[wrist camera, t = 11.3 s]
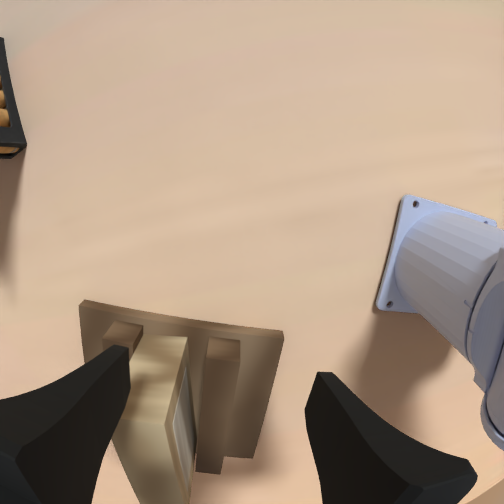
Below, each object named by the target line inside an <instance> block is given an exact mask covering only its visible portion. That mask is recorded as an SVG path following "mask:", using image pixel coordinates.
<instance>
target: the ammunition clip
mask: <svg viewBox="0 0 504 504" xmlns="http://www.w3.org/2000/svg"><path fill="white" fill-rule="evenodd" d="M26 145H27V142H26V139H25V135H24V132H23V128H22V125H21V121H20V117H19V114H18V110H17V106H16V102H15V97H14V93H13V88H12V84H11V79H10V74H9V69H8V63H7V57H6V51H5V45H4V38H1V37H0V159H11V158H12V157H14V156H15V155H16V154H17V153H19V152H20V151H21V150H22V149H24V148H25V147H26Z"/></svg>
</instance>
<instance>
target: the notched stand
mask: <svg viewBox="0 0 504 504" xmlns="http://www.w3.org/2000/svg"><path fill="white" fill-rule="evenodd" d="M79 316H80V327H81V337H82V346H83V354H84V362H85V364H86V363H87V362H89V361H90V360H92V359H93V358H95V357H96V356H98V355H99V354H100V353H102V352H103V351H105V350H106V349H108V348H109V347H111V346H112V345H114V344H115V345H119V346H124V347H129V362H130V360H131V358H132V356H133V354H134V352H135V350H136V348H137V346H138V344H139V342H140V340H141V338H142V336H143V334H146V335H161V336H178V337H188V350H189V363H190V374H191V385H192V395H193V405H194V414H195V422H196V431H197V444H196V452H195V453H197V458H196V471H195V472H203V473H211V474H220V473H221V468H222V463H223V457H224V456H227V457H239V458H253V456H254V453H255V449H256V446H257V442H258V439H259V435H260V431H261V428H262V424H263V421H264V417H265V413H266V409H267V406H268V402H269V398H270V394H271V390H272V387H273V383H274V379H275V375H276V371H277V367H278V363H279V359H280V355H281V351H282V346H283V342H284V335H283V331H279V330H269V329H260V328H252V327H244V326H236V325H228V324H221V323H214V322H207V321H200V320H193V319H187V318H180V317H174V316H168V315H162V314H156V313H150V312H145V311H139V310H134V309H129V308H123V307H118V306H113V305H108V304H103V303H98V302H94V301H89V300H84V301H83V302H82V303H81V304H80V305H79Z"/></svg>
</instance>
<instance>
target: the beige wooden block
mask: <svg viewBox="0 0 504 504" xmlns="http://www.w3.org/2000/svg"><path fill="white" fill-rule="evenodd" d="M129 365H130V382H131V389H130V393H129V396H128V400H127V403H126V406H125V409H124V411H123V414H122V416H121V418H120V420H119V422H118V425H117V427H116V429H115V431H114V433H113V436H112V438H111V439H112V441H113V444H114V447H115V449H116V452H117V454H118V456H119V459H120V461H121V464H122V466H123V468H124V471H125V473H126V475H127V477H128V479H129V482H130V484H131V486H132V488H133V490H134V492H135V494H136V496H137V498H138V500H139V502H140V504H189V502H190V493H191V485H192V476H193V468H194V460H195V452H196V444H197V431H196V422H195V414H194V405H193V395H192V385H191V374H190V363H189V350H188V337H178V336H161V335H146V334H143V336H142V338H141V340H140V342H139V344H138V346H137V348H136V350H135V352H134V354H133V356H132V358H131V360H130V362H129Z"/></svg>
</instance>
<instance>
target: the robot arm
mask: <svg viewBox="0 0 504 504" xmlns="http://www.w3.org/2000/svg"><path fill="white" fill-rule="evenodd" d="M414 201H416V206H415V207H413V202H414ZM484 222H485V223H484ZM389 301H391V303H390V305H388V306H387V303H388V302H389ZM376 306H377V308H378V309H379V310H383V311H395V312H407V313H419V314H420V315H422V316H423V317H424V318H425V319H426V320H427V321H428V322H429V323H430V324H431V325H432V326H433V327H434V328H435V329H436V330H437V331H438V332H439V333H440V334H441V335H443V336H444V337H445V338H446V339H447V340H448V341H449V342H450V343H451V344H452V345H453V346H454V347H455V348H456V349H457V350H458V351H459V352H460V353H461V354H462V355H463V356H464V357H465V358H466V359H467V360H468V361H469V362H470V363H471V364H472V365H473V367H474V370H475V376H474V382H475V383H476V384H477V385H478V386H479V387H480V388H481V390H482V391H483V392H484V393H485V394H484V397H483V400H482V404H481V412H480V415H481V422H482V425H483V428H484V430H485V432H486V433H487V435H488V437H489V438H490V439H491V440H492V442H493V443H494V444H496V445H497V446H498V447H499V448H500V449H502V450H503V451H504V230H503V229H500V228H497V223H496V221H495V220H492V219H489V218H486V217H483V216H480V215H477V214H474V213H471V212H467V211H464V210H461V209H458V208H454V207H451V206H448V205H444V204H441V203H437V202H434V201H430V200H427V199H423V198H420V197H416V196H412V195H404V196H403V197H402V199H401V203H400V208H399V213H398V218H397V222H396V227H395V231H394V236H393V240H392V244H391V248H390V252H389V256H388V260H387V264H386V268H385V271H384V275H383V279H382V282H381V286H380V289H379V293H378V296H377V299H376ZM130 389H131V382H130V365H129V347H124V346H119V345H115V344H114V345H112V346H111V347H109V348H108V349H106V350H105V351H103V352H102V353H100V354H99V355H98V356H96V357H95V358H93V359H92V360H90V361H89V362H87V363H86V364H84V365H83V366H81V367H80V368H78V369H76V370H74V371H73V372H71V373H69V374H68V375H66V376H64V377H62V378H61V379H59V380H57V381H55V382H53V383H50V384H48V385H46V386H44V387H41V388H39V389H36V390H33V391H30V392H27V393H24V394H21V395H18V396H14V397H10V398H6V399H1V400H0V504H91V503H92V498H93V494H94V490H95V485H96V481H97V477H98V474H99V470H100V467H101V463H102V460H103V457H104V454H105V452H106V449H107V447H108V445H109V442H110V440H111V438H112V436H113V433H114V431H115V429H116V427H117V425H118V422H119V420H120V418H121V416H122V414H123V411H124V409H125V406H126V403H127V400H128V396H129V393H130ZM305 419H306V428H307V433H308V437H309V441H310V445H311V449H312V452H313V456H314V460H315V464H316V467H317V471H318V475H319V480H320V485H321V493H322V501H323V504H457V503H458V502H459V501H460V500H461V499H462V498H463V497H464V496H465V495H466V494H467V493H468V492H469V491H470V490H471V489H472V488H473V486H474V485H475V483H476V481H477V477H478V475H477V474H476V472H475V470H474V469H473V467H472V466H471V464H470V462H469V461H468V460H467V459H464V458H460V457H457V456H453V455H450V454H446V453H444V452H441V451H438V450H436V449H433V448H431V447H429V446H426V445H424V444H422V443H420V442H418V441H416V440H414V439H413V438H411V437H409V436H407V435H405V434H404V433H402V432H400V431H399V430H397V429H396V428H394V427H393V426H392V425H390V424H389V423H387V422H386V421H385V420H383V419H382V418H381V417H379V416H378V415H377V414H376V413H375V412H373V411H372V410H371V409H370V408H369V407H368V406H367V405H365V404H364V403H363V402H362V401H361V400H360V399H359V398H358V397H357V396H356V395H355V394H354V393H353V392H352V391H351V390H350V389H349V388H348V387H347V386H346V385H345V384H344V383H343V382H342V381H341V380H340V379H339V378H338V377H337V376H336V375H335V374H333V373H332V372H317V375H316V378H315V381H314V384H313V387H312V390H311V392H310V395H309V398H308V401H307V404H306V407H305Z"/></svg>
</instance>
